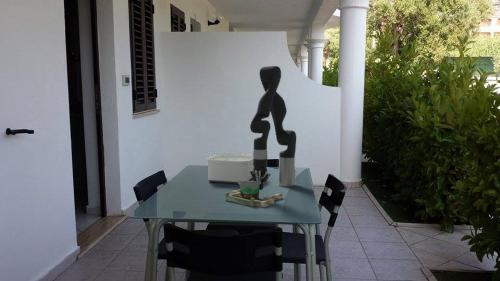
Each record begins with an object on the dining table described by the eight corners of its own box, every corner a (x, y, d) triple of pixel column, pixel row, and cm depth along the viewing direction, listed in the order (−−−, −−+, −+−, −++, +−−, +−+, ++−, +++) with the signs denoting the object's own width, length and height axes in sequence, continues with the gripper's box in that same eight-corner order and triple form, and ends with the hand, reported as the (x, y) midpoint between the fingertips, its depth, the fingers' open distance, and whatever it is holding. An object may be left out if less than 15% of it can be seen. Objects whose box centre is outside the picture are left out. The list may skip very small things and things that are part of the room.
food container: (238, 201, 237) (238, 182, 236) (238, 198, 243) (238, 179, 242) (262, 200, 238) (261, 181, 236) (261, 197, 244) (261, 179, 242)
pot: (198, 182, 282) (198, 159, 280) (215, 174, 309) (215, 152, 307) (251, 186, 272) (252, 162, 270) (264, 177, 299) (264, 155, 298)
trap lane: (249, 191, 259) (249, 184, 259) (289, 199, 241) (289, 192, 241) (218, 198, 241) (218, 191, 241) (259, 208, 223) (259, 200, 222)
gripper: (274, 158, 241) (274, 190, 243) (255, 155, 249) (255, 186, 251) (265, 159, 235) (265, 192, 237) (246, 157, 244) (246, 188, 246)
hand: (260, 189), depth 244 cm, fingers closed
